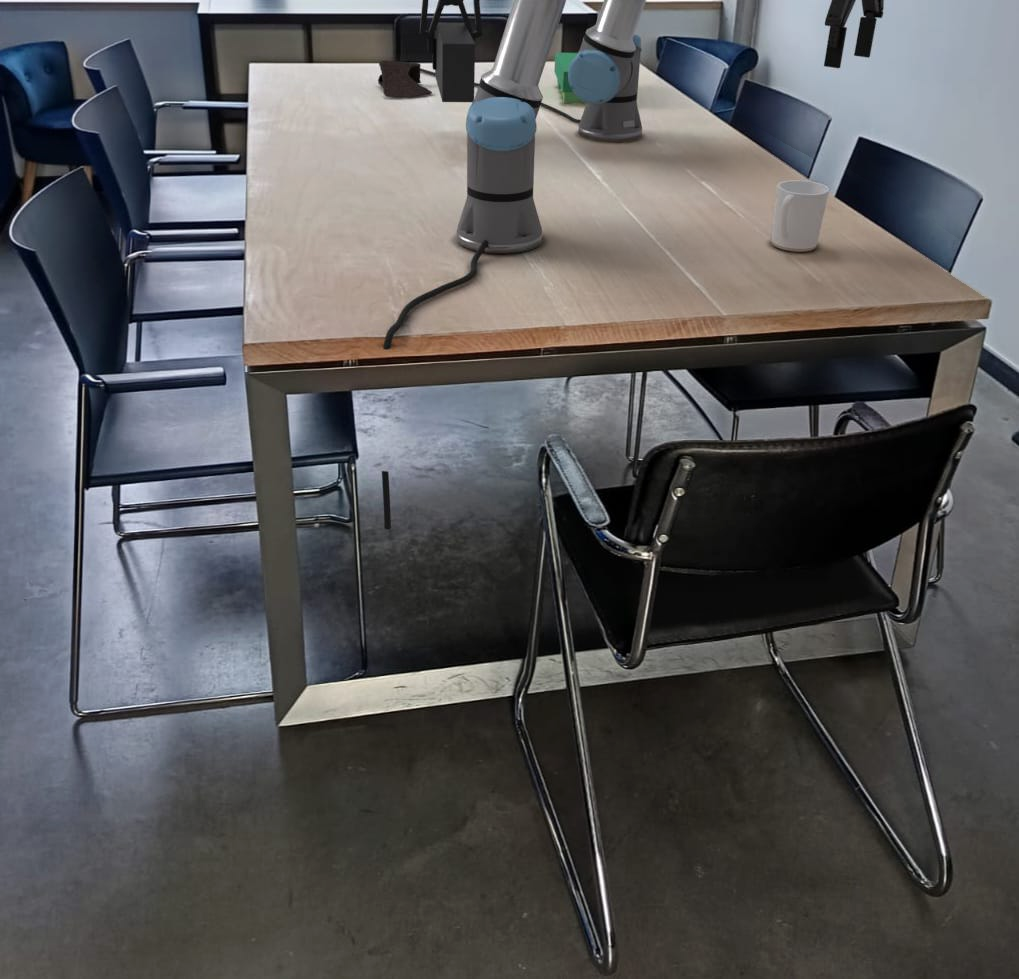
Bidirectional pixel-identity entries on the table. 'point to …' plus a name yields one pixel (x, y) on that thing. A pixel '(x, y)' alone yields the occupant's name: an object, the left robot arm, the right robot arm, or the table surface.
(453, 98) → the box
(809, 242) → the mug
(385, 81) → the axe head
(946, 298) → the table surface
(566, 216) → the table surface
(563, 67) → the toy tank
